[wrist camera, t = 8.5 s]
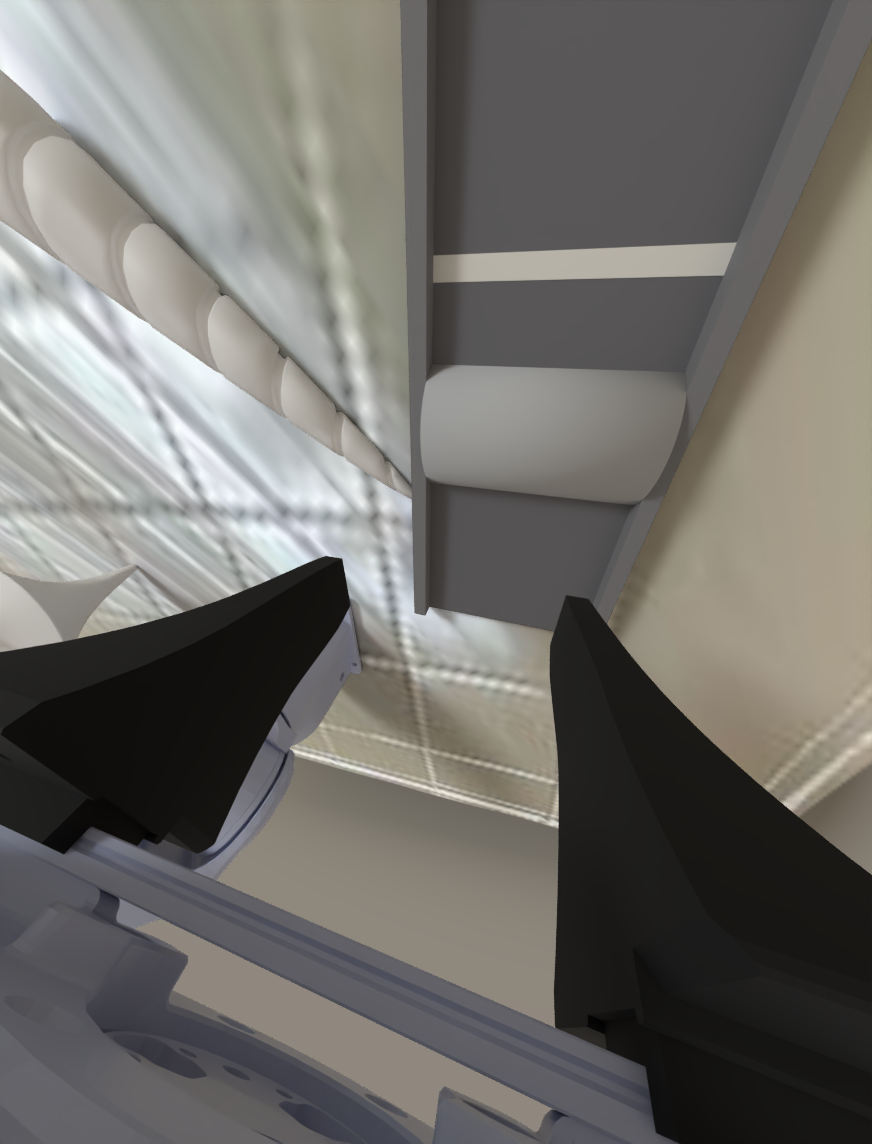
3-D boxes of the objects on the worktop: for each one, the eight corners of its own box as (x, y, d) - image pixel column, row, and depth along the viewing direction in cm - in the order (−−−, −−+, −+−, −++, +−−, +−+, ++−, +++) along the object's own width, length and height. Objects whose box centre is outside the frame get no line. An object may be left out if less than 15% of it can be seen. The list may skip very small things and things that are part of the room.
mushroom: (64, 513, 30) (-162, 586, 20) (151, 527, 27) (-58, 617, 18) (125, 598, 36) (-28, 686, 26) (201, 615, 33) (64, 719, 24)
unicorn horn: (385, 532, 21) (352, 569, 18) (47, 209, 16) (-106, 162, 12) (431, 486, 19) (403, 518, 15) (44, 84, 14) (-152, -26, 10)
